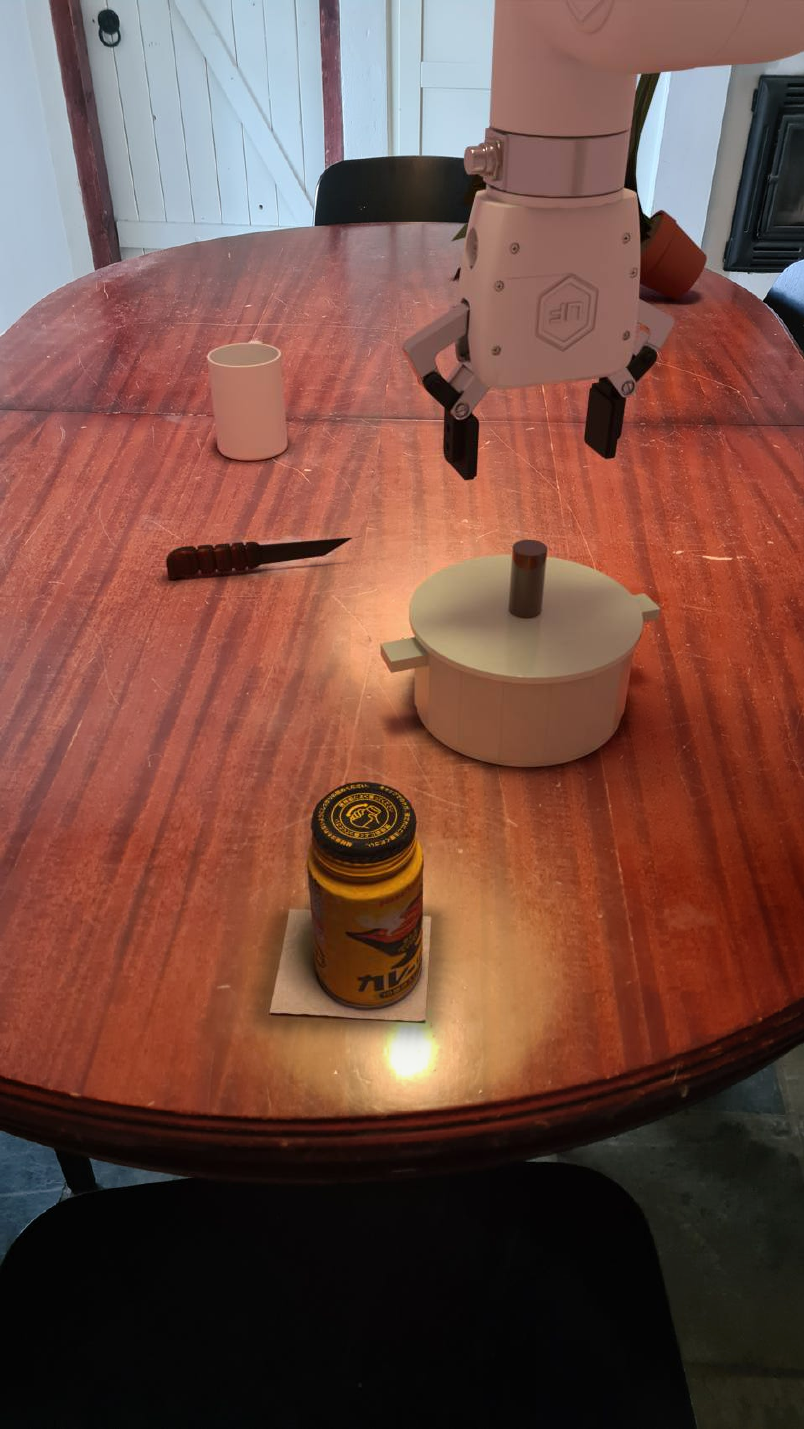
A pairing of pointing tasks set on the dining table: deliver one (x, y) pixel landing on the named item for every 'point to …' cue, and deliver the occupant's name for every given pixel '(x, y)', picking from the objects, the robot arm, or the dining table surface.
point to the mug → (248, 400)
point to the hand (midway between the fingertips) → (531, 461)
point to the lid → (525, 617)
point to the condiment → (359, 913)
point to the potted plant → (643, 219)
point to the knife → (243, 555)
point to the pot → (515, 707)
